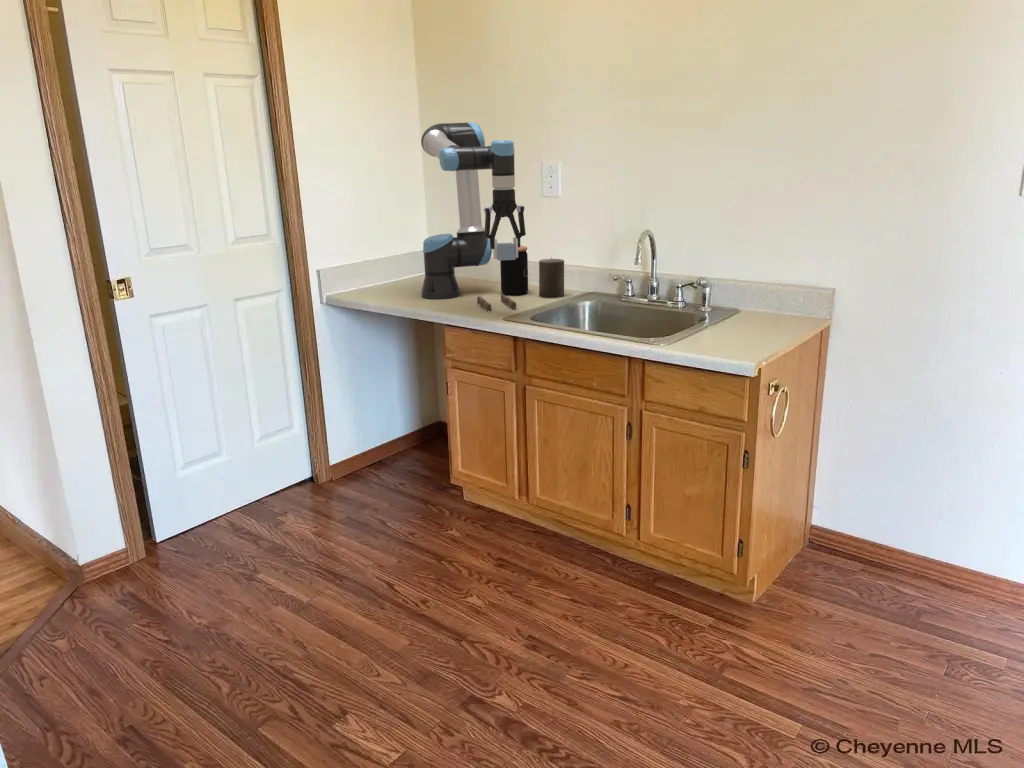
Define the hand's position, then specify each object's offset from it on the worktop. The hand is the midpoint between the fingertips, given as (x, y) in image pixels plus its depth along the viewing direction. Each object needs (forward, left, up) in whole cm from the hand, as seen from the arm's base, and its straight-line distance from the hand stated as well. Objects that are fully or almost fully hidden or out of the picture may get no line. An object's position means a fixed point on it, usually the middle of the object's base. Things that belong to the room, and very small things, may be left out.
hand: (505, 257), depth 269 cm
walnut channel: (-14, 0, -20) cm, 25 cm away
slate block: (-1, 0, 0) cm, 1 cm away
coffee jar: (-34, +13, -20) cm, 42 cm away
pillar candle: (-24, +25, -20) cm, 40 cm away
